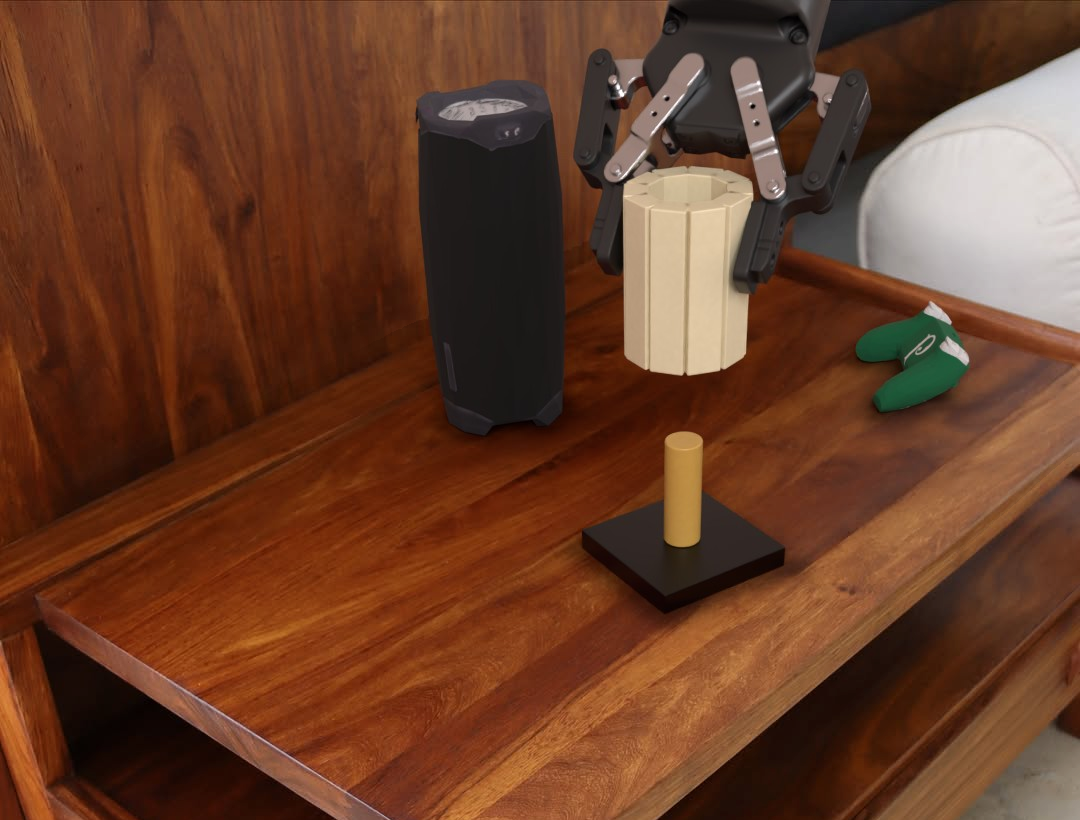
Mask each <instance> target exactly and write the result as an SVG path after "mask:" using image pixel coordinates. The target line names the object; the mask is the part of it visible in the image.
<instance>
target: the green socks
mask: <svg viewBox="0 0 1080 820" xmlns="http://www.w3.org/2000/svg"><path fill="white" fill-rule="evenodd" d="M952 323H953V321H952V320H951V318H950V317H949V315H948V314H947V313H946V312H945V311H944V310H943V309H942V308H941V307H940V306H938V305H937V304H935V303H934V302H933V301H932V300H930V301H928V305H927V306H926V307H925V308H924V309H922V310H921V311H920V312H919V313H918V314H917V315H914V316H912V317H911V318H906V319H902V320H898V321H893V322H890V323H886V324H883V325H880V326H878V327H877V326H876V327H874V328H873V329H870V330H868V331H867V332H865V333H864V334H863V335H862V336H861V337H860V338H859V340H857V342H856V344H855V345H856V346H855V353H856V355H857V357H858V358H859V360H861V361H863V362H871V363H874V362H887V361H896V360H897V361H898V360H900V363H901V366H902V369H903V371H901V372H899V373H898V374H896V375H894V376H893V377H891V378H888V380H886V381H885V382H884V383H883V384H882V385H881V386H880V387H879V388H878V389H877V390H876V391H875V393H874V394H873V396H872V403H873V404H874V405H875V407H876V408H877V410H878V412H879V413H888V412H894V411H898V410H904V409H908V408H911V407H914V406H916V405H919V404H922V403H925V402H927V401H929V400H931V399H934V398H936V397H938V396H940V395H941V394H943V393H945V392H947V391H949V390H950V389H951V390H952V389H953V390H954V388H956V387H957V386H959V381H960V380H961V379H962V377H963V376H964V375H965V374H966V373H967V372H968V371H969V368H970V357H969V354H968V352H966V350H965V347H964V345H963V341H962V339H961V337H960V336H959V334H958V331H956V329H955V328H954V327H953V325H952Z"/></svg>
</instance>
